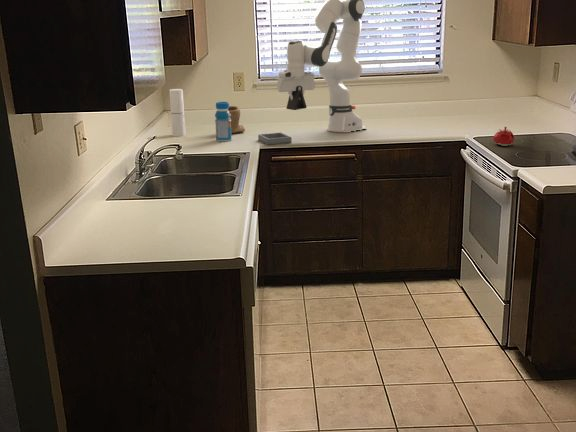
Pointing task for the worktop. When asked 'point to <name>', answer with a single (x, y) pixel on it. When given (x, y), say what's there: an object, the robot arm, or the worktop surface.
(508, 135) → the pomegranate
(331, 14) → the robot arm
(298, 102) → the door stopper
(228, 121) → the beverage bottle
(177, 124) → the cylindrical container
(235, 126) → the tan boot
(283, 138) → the tray
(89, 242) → the worktop surface
